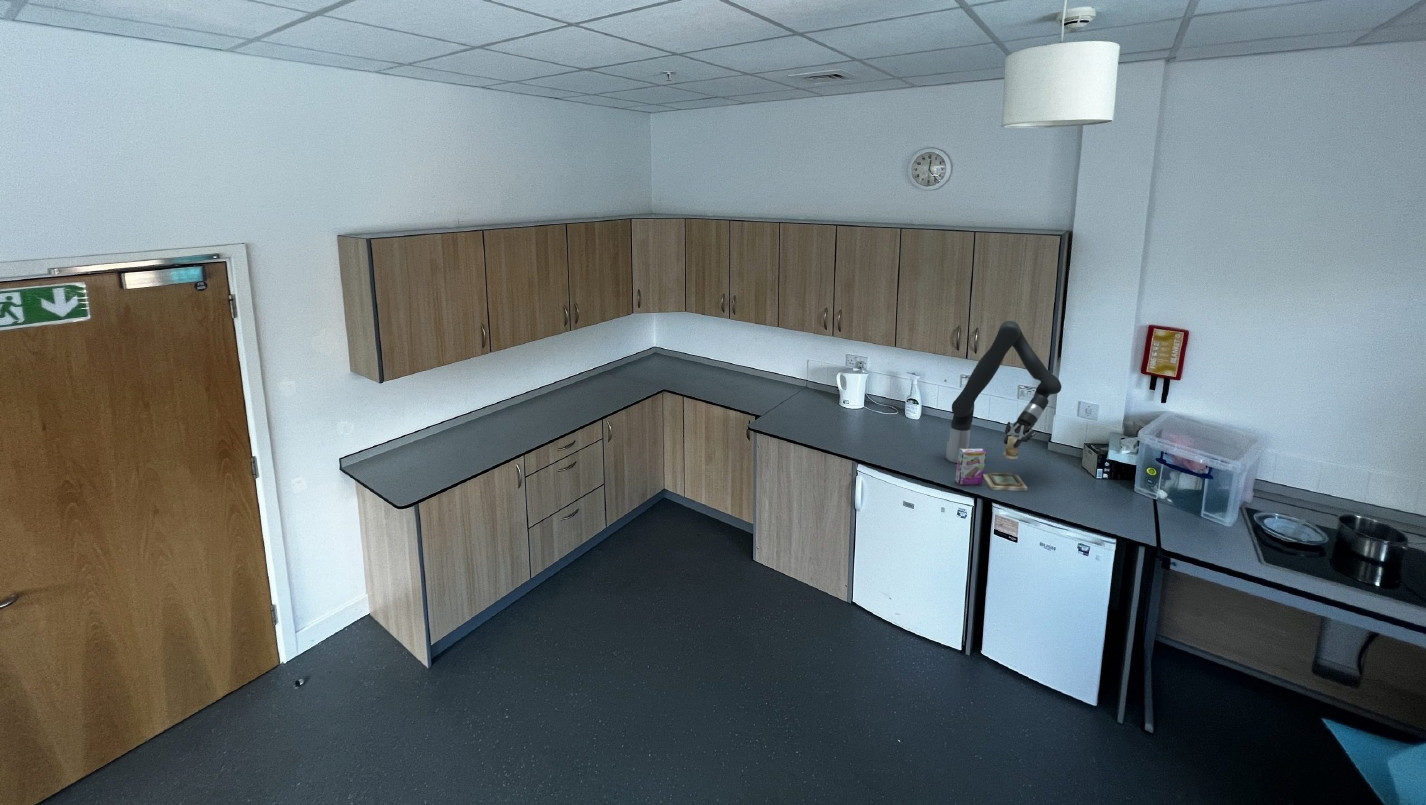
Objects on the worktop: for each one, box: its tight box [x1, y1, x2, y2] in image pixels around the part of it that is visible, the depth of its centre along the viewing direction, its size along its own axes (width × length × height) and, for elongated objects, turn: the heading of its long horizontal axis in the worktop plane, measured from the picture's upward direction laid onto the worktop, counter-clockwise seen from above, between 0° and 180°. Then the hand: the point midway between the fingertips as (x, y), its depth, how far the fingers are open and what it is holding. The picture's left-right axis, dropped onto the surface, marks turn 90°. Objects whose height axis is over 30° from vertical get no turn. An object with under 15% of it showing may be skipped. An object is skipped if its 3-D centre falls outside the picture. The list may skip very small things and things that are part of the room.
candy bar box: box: [954, 448, 987, 486], centre depth 327 cm, size 11×5×16 cm, turn 92°
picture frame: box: [983, 472, 1028, 492], centre depth 328 cm, size 16×14×3 cm
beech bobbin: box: [1002, 435, 1019, 460], centre depth 323 cm, size 6×6×9 cm
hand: (1009, 445), depth 321 cm, fingers closed on beech bobbin, 4 cm apart
